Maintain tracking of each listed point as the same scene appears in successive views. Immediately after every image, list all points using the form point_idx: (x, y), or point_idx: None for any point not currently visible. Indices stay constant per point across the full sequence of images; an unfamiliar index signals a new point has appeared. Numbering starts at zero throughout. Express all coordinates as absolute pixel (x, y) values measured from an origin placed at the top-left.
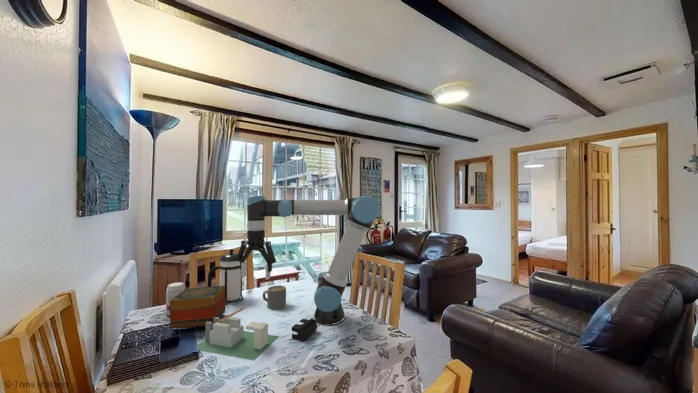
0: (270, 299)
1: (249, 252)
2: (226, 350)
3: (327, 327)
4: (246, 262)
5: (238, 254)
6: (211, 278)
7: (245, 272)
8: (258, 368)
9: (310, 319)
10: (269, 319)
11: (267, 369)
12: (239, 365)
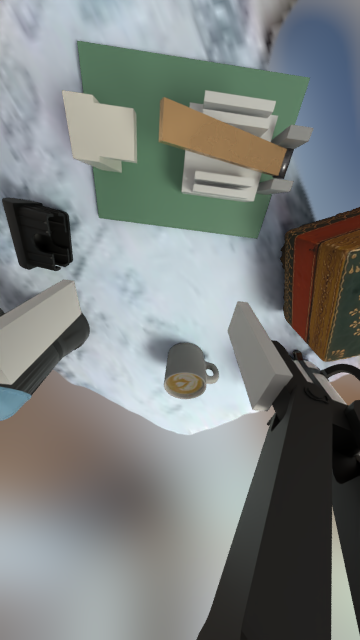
0: (192, 358)
1: (233, 571)
2: (193, 94)
3: (38, 287)
4: (251, 403)
5: None
6: None
7: (235, 337)
8: (52, 16)
9: (24, 261)
10: (172, 304)
11: (24, 16)
12: (117, 22)
